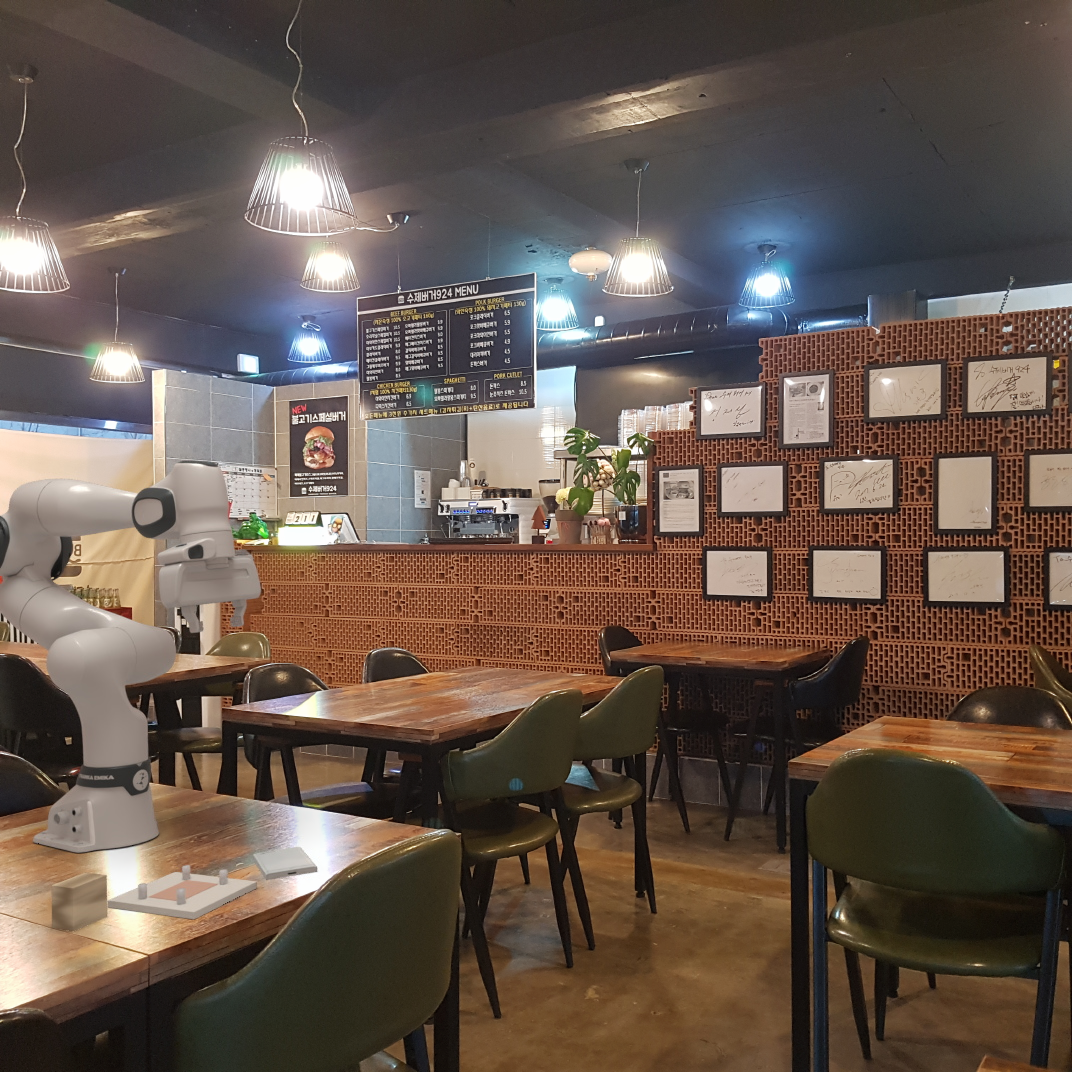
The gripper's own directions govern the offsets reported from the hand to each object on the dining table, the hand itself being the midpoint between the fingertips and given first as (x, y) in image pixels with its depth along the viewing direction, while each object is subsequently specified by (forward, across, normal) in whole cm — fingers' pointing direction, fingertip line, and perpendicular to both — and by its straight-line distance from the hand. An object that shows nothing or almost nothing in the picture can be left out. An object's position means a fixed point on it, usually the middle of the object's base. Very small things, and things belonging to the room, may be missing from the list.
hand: (217, 629), depth 174 cm
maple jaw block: (+38, +34, +2) cm, 52 cm away
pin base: (+39, +21, +8) cm, 45 cm away
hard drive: (+41, +2, +11) cm, 42 cm away
